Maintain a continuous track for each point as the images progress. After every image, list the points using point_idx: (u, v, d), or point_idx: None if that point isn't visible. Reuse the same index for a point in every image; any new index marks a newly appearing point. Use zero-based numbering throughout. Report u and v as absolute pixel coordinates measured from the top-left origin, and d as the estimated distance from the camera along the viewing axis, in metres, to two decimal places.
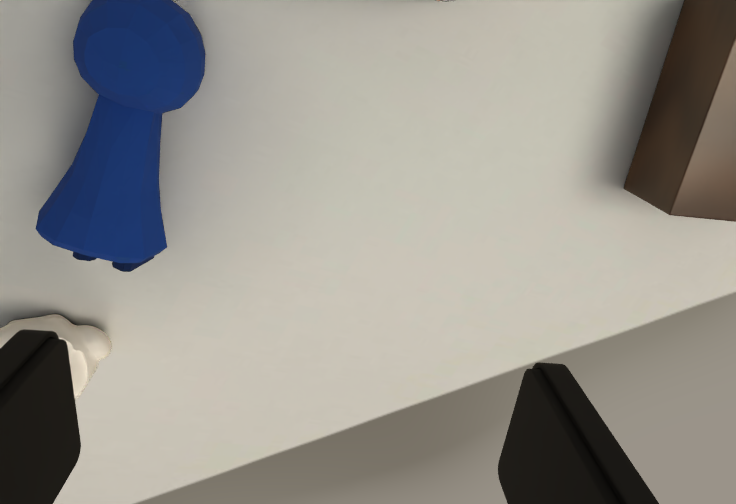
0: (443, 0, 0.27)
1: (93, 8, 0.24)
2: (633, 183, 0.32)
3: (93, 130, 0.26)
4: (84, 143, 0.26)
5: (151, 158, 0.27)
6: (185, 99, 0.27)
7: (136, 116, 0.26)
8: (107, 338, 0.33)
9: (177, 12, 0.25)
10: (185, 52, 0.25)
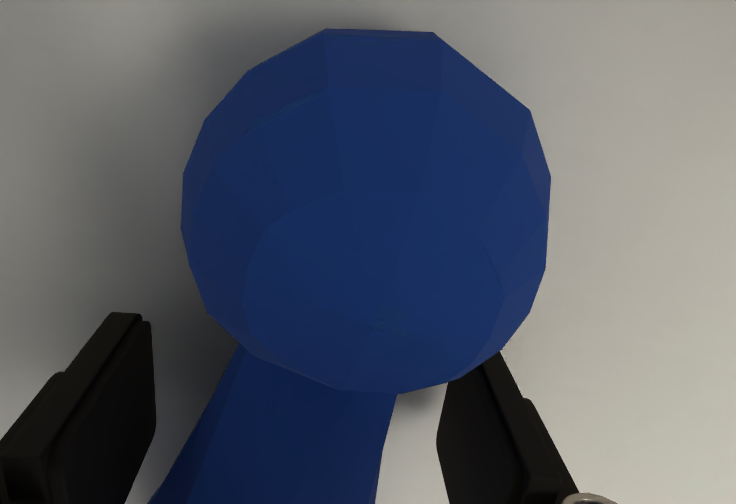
0: None
1: (273, 107, 0.07)
2: None
3: (230, 450, 0.09)
4: (201, 482, 0.09)
5: (373, 486, 0.10)
6: None
7: (359, 406, 0.09)
8: None
9: (522, 106, 0.08)
10: (546, 235, 0.08)
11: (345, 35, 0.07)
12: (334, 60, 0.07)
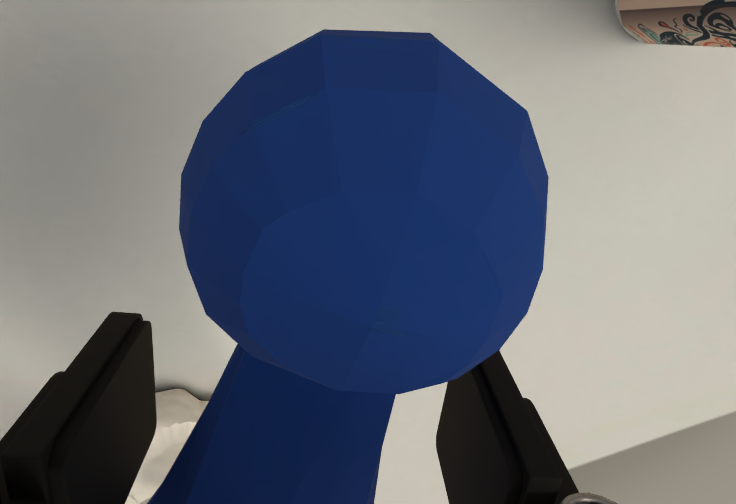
0: None
1: (271, 108, 0.07)
2: None
3: (228, 450, 0.09)
4: (200, 482, 0.09)
5: (372, 486, 0.10)
6: None
7: (357, 406, 0.09)
8: None
9: (519, 106, 0.08)
10: None
11: (342, 36, 0.07)
12: (331, 61, 0.07)
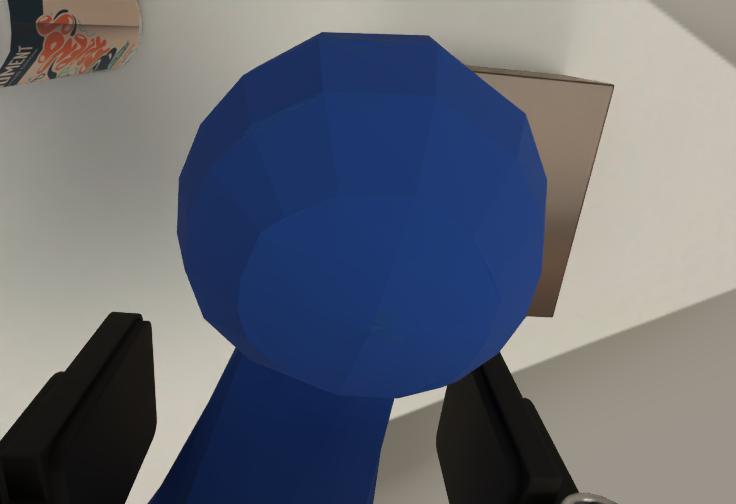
0: (94, 71, 0.24)
1: (268, 112, 0.07)
2: None
3: (226, 454, 0.09)
4: (198, 486, 0.09)
5: (370, 490, 0.10)
6: None
7: (356, 410, 0.09)
8: None
9: (518, 109, 0.08)
10: (542, 238, 0.08)
11: (340, 39, 0.07)
12: (329, 64, 0.07)
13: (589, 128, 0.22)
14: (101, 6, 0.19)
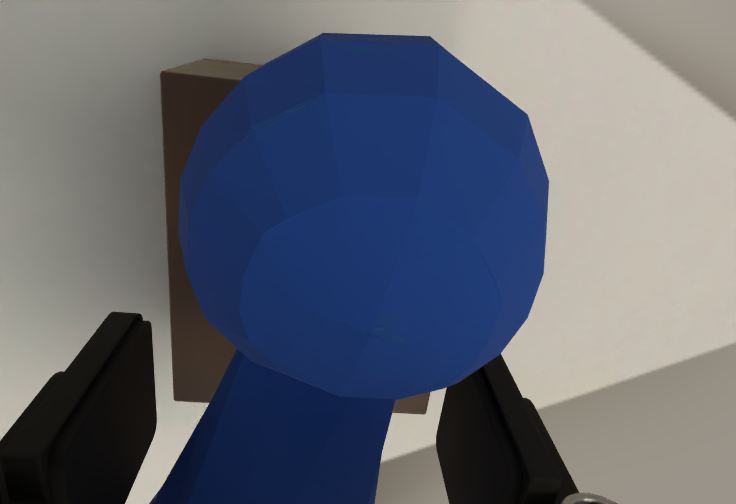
0: None
1: (270, 113, 0.07)
2: None
3: (227, 455, 0.09)
4: (200, 487, 0.09)
5: (372, 490, 0.10)
6: None
7: (357, 411, 0.09)
8: None
9: (519, 110, 0.08)
10: (544, 239, 0.08)
11: (342, 40, 0.07)
12: (331, 64, 0.07)
13: None
14: None
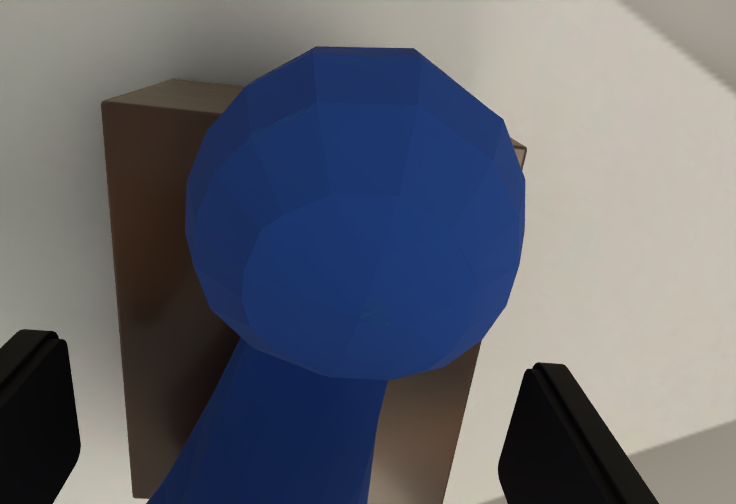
0: None
1: (267, 121, 0.07)
2: None
3: (232, 436, 0.09)
4: (206, 466, 0.10)
5: (367, 470, 0.11)
6: None
7: (351, 394, 0.09)
8: None
9: (496, 115, 0.08)
10: (519, 233, 0.08)
11: (332, 54, 0.08)
12: (322, 77, 0.08)
13: None
14: None
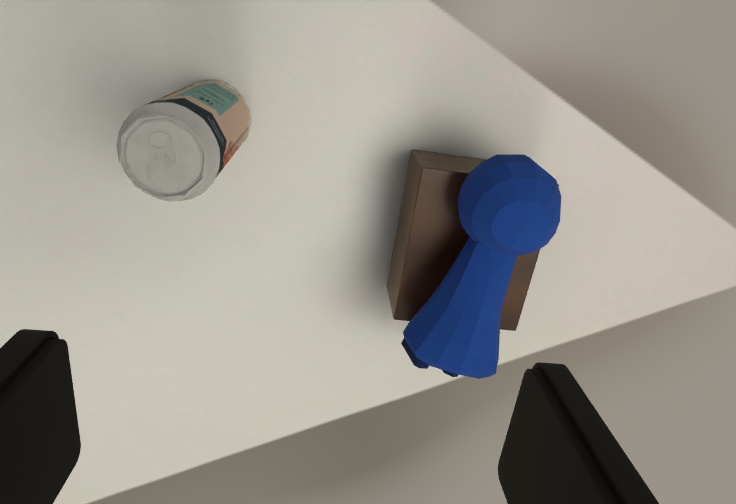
0: None
1: (498, 181, 0.29)
2: (389, 285, 0.40)
3: (471, 272, 0.31)
4: (461, 282, 0.31)
5: None
6: None
7: (507, 260, 0.31)
8: None
9: (554, 179, 0.30)
10: None
11: (512, 162, 0.30)
12: (511, 170, 0.29)
13: None
14: (239, 127, 0.31)
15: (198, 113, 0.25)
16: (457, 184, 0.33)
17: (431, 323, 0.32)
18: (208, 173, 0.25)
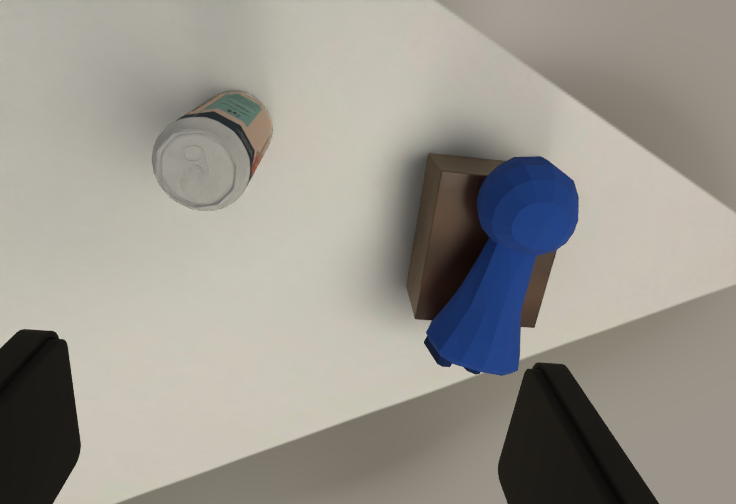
0: None
1: (517, 184, 0.30)
2: (408, 285, 0.41)
3: (492, 272, 0.32)
4: (483, 282, 0.32)
5: None
6: None
7: (526, 260, 0.32)
8: None
9: (571, 179, 0.31)
10: None
11: (530, 165, 0.30)
12: (530, 172, 0.30)
13: None
14: (264, 136, 0.32)
15: (228, 126, 0.26)
16: (476, 186, 0.34)
17: (454, 323, 0.33)
18: (239, 183, 0.26)
